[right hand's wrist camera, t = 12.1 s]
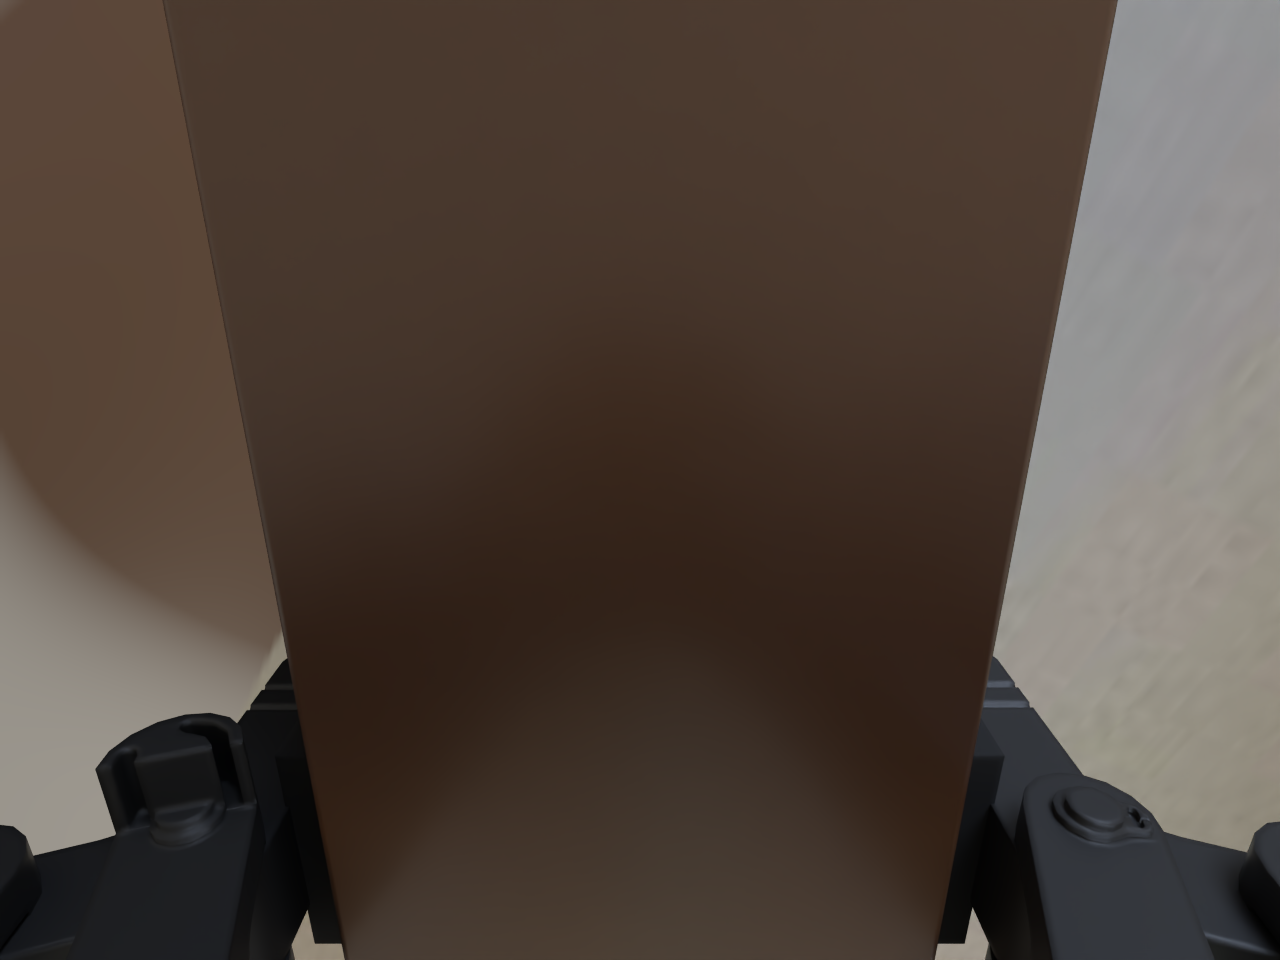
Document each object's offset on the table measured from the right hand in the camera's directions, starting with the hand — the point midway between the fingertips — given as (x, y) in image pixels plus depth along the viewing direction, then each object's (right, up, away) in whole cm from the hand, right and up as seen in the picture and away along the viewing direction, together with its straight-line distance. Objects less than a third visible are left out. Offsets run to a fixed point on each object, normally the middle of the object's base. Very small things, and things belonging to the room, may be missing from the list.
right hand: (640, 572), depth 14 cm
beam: (0, +12, -4) cm, 13 cm away
